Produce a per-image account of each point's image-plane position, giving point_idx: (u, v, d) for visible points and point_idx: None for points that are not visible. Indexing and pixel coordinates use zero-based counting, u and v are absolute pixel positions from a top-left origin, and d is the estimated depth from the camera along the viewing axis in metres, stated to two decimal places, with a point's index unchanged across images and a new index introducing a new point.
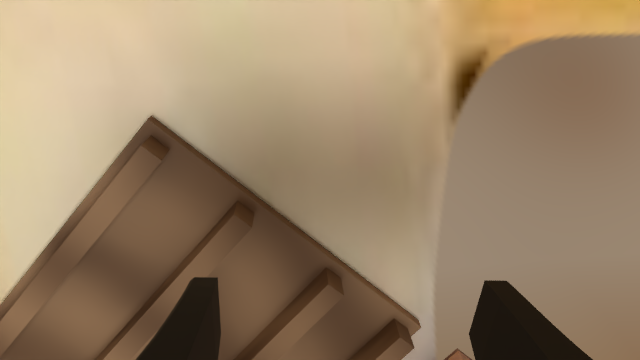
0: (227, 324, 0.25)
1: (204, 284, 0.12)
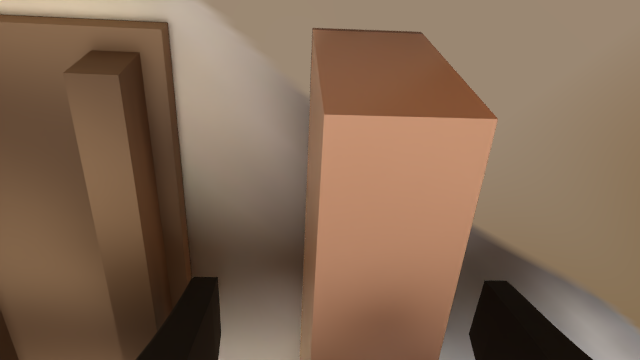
0: None
1: (204, 284, 0.12)
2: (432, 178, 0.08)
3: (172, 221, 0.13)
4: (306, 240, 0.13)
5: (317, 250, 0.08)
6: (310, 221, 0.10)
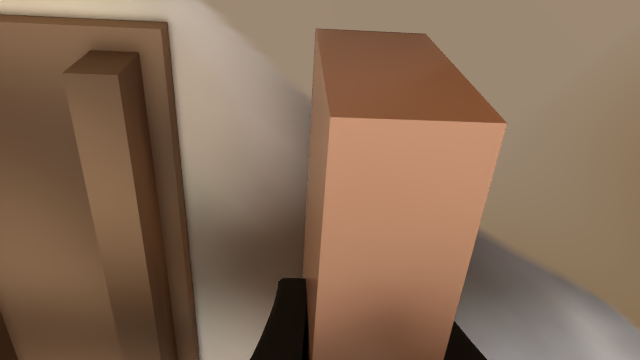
0: None
1: (295, 285, 0.12)
2: (438, 183, 0.07)
3: (172, 221, 0.13)
4: (307, 243, 0.12)
5: (320, 255, 0.08)
6: (312, 224, 0.10)
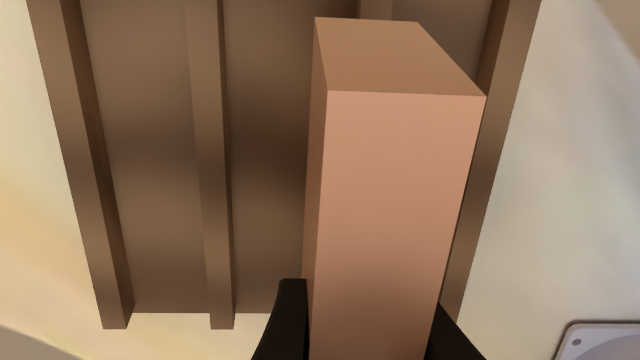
0: (303, 130, 0.19)
1: (295, 285, 0.12)
2: (426, 152, 0.08)
3: None
4: (306, 220, 0.13)
5: (319, 219, 0.09)
6: (311, 198, 0.11)
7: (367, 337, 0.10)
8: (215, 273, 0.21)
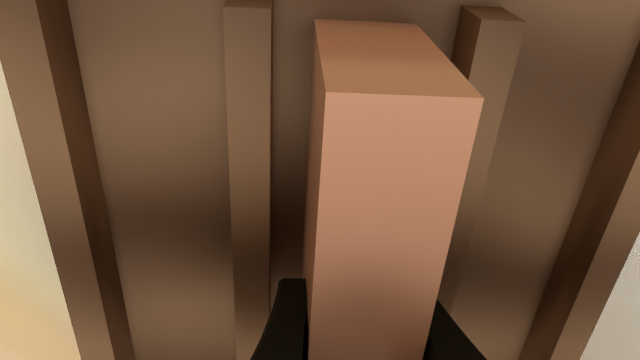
0: None
1: (295, 285, 0.12)
2: (423, 153, 0.08)
3: None
4: (306, 221, 0.13)
5: (317, 221, 0.09)
6: (310, 200, 0.11)
7: (366, 337, 0.10)
8: None
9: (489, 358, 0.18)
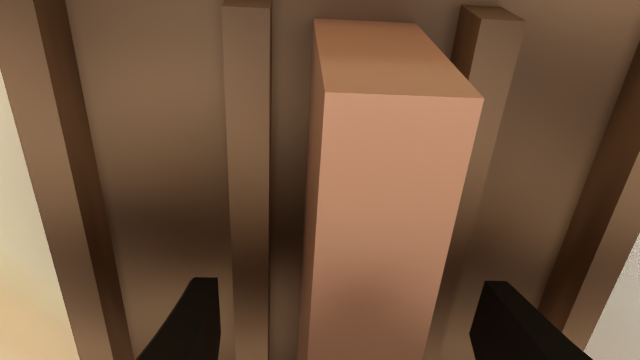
0: None
1: (203, 284, 0.12)
2: (423, 153, 0.08)
3: None
4: (305, 221, 0.13)
5: (317, 221, 0.09)
6: (310, 200, 0.11)
7: (365, 338, 0.10)
8: None
9: None
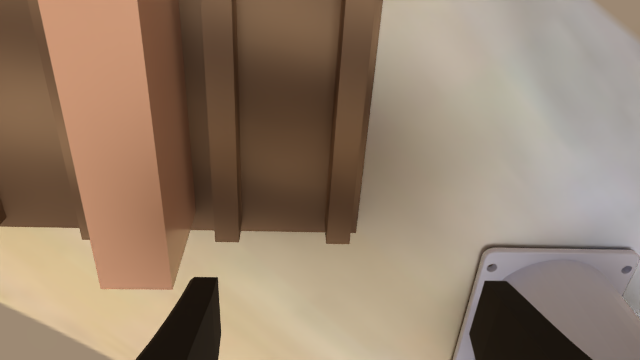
0: None
1: (203, 284, 0.12)
2: None
3: None
4: None
5: None
6: None
7: (93, 48, 0.13)
8: None
9: (302, 175, 0.21)
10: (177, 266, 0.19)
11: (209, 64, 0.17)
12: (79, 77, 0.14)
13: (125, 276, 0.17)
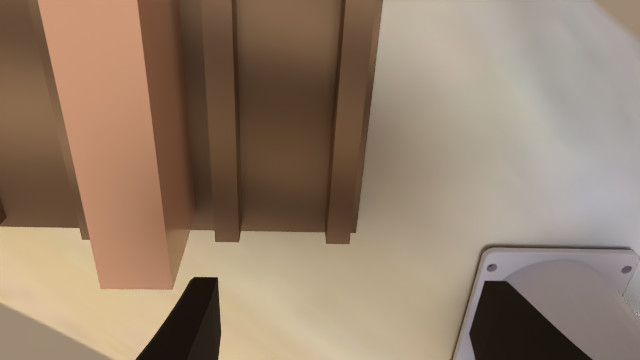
0: None
1: (203, 284, 0.12)
2: None
3: None
4: None
5: None
6: None
7: (93, 48, 0.13)
8: None
9: (302, 175, 0.21)
10: (177, 266, 0.19)
11: (209, 64, 0.17)
12: (79, 77, 0.14)
13: (125, 276, 0.17)
